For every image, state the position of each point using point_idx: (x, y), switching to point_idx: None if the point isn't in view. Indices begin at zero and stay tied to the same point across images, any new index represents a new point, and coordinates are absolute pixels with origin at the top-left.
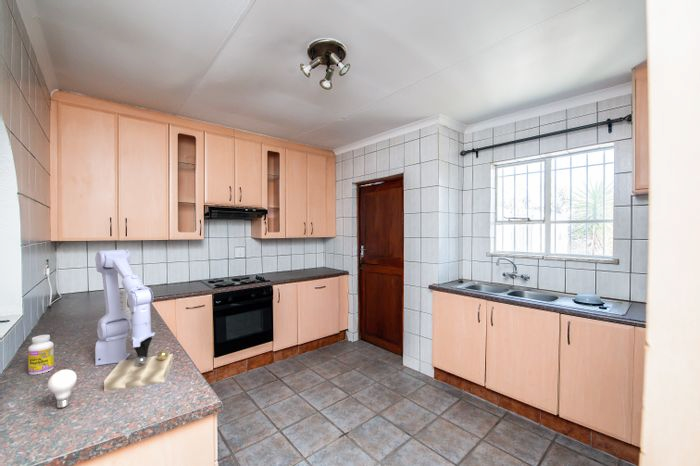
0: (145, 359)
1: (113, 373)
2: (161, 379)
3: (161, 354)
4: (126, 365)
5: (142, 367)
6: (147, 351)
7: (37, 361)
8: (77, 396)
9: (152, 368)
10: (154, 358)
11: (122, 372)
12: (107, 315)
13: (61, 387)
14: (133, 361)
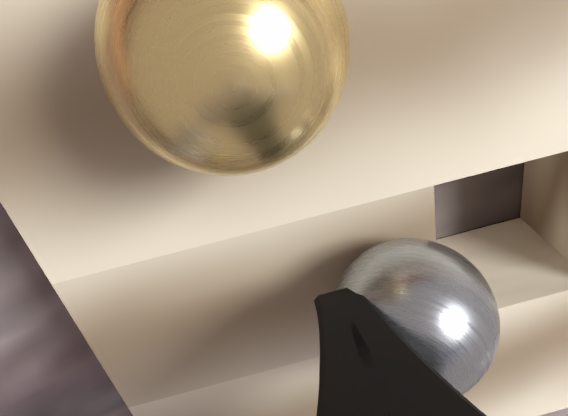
0: (447, 273)
1: (511, 405)
2: None
3: (343, 50)
4: None
5: (431, 227)
6: (381, 384)
7: None
8: (562, 411)
9: (563, 52)
10: (140, 218)
11: (519, 350)
12: None
13: None
14: (233, 407)
